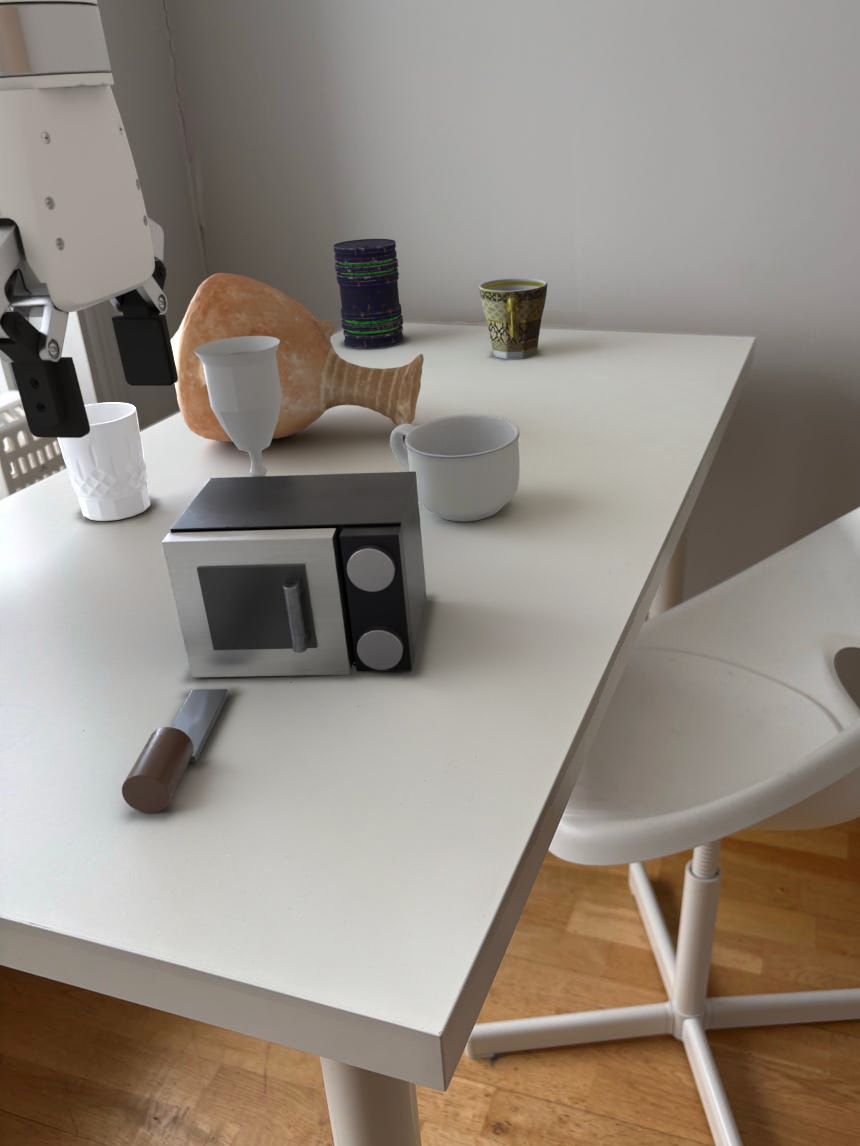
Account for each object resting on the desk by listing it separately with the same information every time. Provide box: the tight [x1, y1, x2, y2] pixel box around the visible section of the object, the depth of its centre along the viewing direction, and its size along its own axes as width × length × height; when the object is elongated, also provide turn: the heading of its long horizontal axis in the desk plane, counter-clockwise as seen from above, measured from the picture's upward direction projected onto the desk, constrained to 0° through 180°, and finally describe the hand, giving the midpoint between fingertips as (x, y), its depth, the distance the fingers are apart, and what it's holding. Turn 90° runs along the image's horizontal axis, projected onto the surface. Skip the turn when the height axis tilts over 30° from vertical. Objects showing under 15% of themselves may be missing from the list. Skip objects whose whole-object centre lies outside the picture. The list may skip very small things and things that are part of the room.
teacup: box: [389, 413, 520, 522], centre depth 98 cm, size 14×11×8 cm
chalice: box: [194, 336, 282, 477], centre depth 90 cm, size 7×7×18 cm
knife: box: [121, 688, 230, 814], centre depth 65 cm, size 13×3×3 cm, turn 177°
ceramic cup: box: [478, 277, 548, 360], centre depth 148 cm, size 13×10×10 cm
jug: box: [170, 272, 425, 443], centre depth 118 cm, size 20×19×30 cm
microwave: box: [169, 471, 428, 673], centre depth 75 cm, size 12×16×11 cm
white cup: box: [56, 401, 151, 522], centre depth 101 cm, size 8×8×10 cm
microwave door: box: [161, 528, 355, 678], centre depth 70 cm, size 3×12×11 cm, turn 87°
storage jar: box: [333, 238, 405, 350], centre depth 160 cm, size 10×10×15 cm
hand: (110, 408), depth 57 cm, fingers open, 9 cm apart
